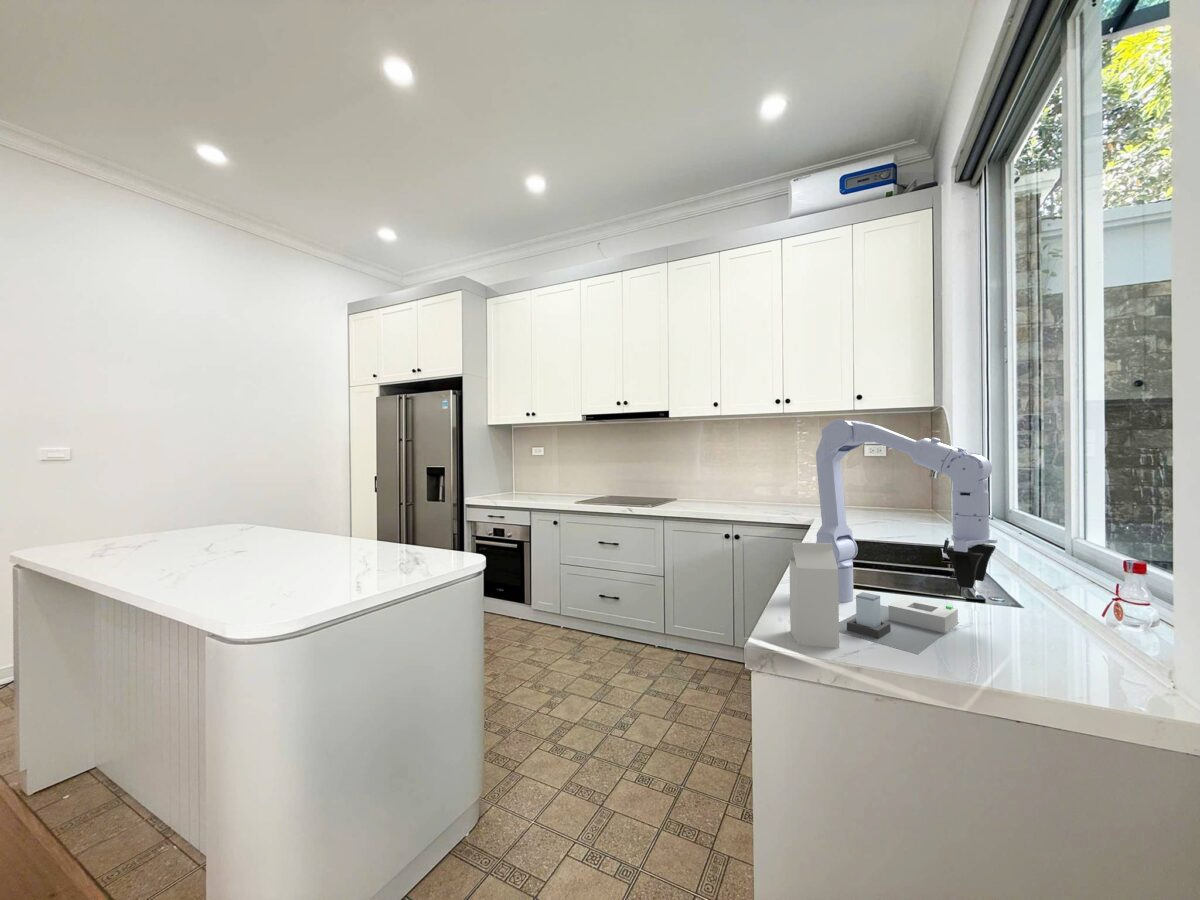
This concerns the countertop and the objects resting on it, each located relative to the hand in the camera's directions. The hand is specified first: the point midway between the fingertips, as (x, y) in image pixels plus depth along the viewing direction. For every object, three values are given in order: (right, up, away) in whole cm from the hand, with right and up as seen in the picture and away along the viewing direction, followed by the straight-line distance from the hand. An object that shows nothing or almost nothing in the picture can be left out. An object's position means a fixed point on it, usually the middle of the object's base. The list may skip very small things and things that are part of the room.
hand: (971, 583), depth 93 cm
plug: (-20, -9, 0) cm, 22 cm away
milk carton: (-33, -11, -3) cm, 35 cm away
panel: (-14, -10, +3) cm, 17 cm away
